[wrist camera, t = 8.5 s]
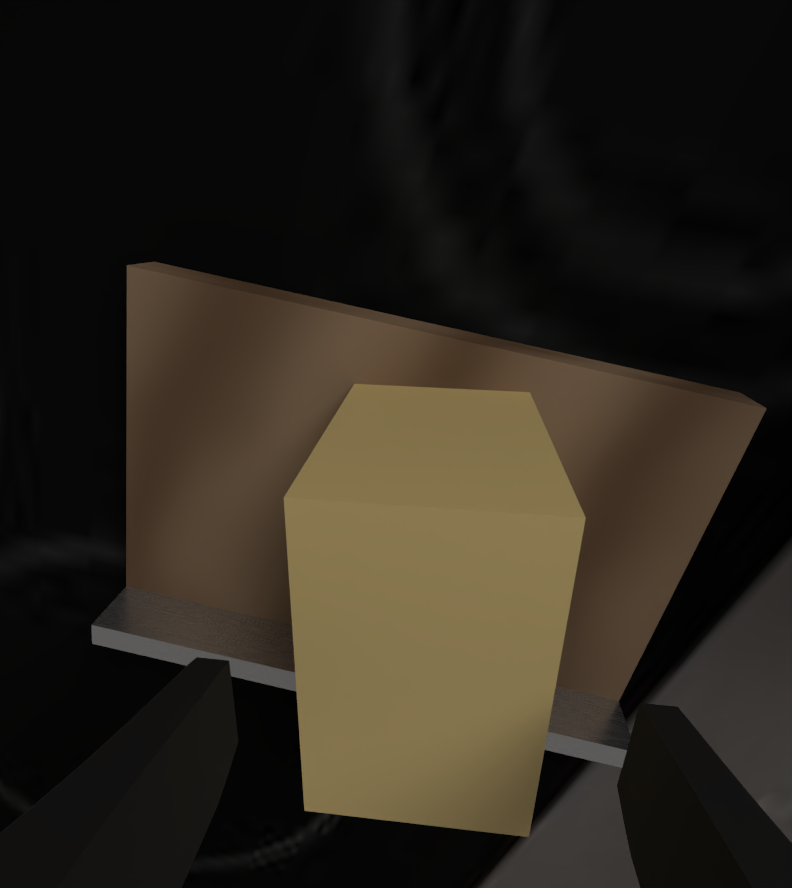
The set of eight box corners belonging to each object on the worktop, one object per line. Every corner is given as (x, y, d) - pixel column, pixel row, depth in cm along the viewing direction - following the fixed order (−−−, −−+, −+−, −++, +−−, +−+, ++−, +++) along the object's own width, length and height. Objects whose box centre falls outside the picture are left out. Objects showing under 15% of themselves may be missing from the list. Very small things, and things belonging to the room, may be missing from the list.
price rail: (618, 701, 19) (636, 752, 17) (607, 723, 19) (623, 775, 18) (126, 586, 19) (91, 624, 17) (126, 610, 20) (92, 650, 18)
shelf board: (739, 392, 16) (766, 408, 15) (600, 684, 21) (610, 717, 19) (154, 261, 16) (127, 265, 15) (147, 579, 21) (126, 604, 20)
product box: (501, 625, 18) (527, 843, 12) (356, 613, 19) (304, 817, 12) (530, 392, 15) (585, 518, 9) (354, 383, 16) (283, 497, 9)
